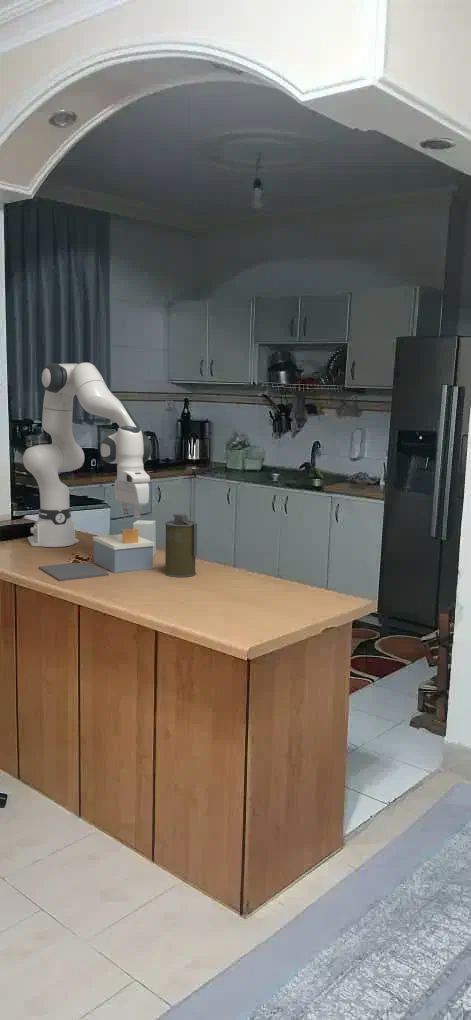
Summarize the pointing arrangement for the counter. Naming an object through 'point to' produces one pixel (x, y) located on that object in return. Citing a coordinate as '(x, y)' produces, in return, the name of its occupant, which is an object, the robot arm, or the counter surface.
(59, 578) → the mat
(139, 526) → the supplement box
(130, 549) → the grey storage box
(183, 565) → the canister
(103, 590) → the counter surface
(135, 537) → the lid
